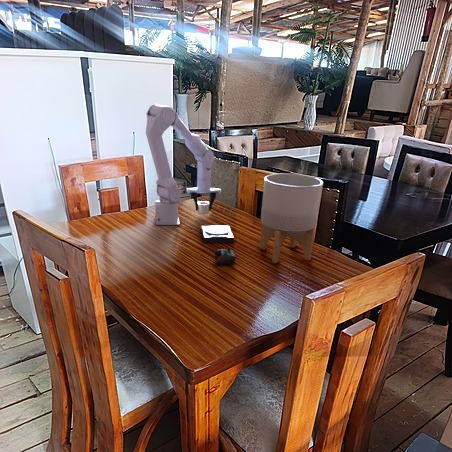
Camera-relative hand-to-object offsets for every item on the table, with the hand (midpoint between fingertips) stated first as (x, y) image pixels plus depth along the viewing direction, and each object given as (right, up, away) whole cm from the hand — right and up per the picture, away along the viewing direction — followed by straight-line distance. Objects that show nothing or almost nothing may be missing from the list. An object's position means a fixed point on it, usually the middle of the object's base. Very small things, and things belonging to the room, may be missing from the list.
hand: (203, 209), depth 175 cm
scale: (+6, -15, -21) cm, 26 cm away
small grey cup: (0, -1, +1) cm, 1 cm away
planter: (+31, -23, -33) cm, 51 cm away
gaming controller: (+10, -26, -40) cm, 49 cm away
